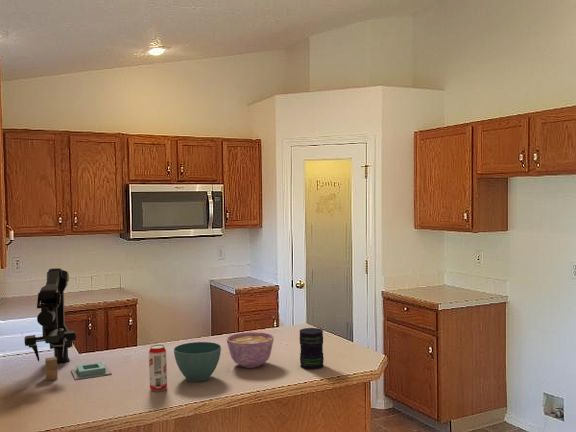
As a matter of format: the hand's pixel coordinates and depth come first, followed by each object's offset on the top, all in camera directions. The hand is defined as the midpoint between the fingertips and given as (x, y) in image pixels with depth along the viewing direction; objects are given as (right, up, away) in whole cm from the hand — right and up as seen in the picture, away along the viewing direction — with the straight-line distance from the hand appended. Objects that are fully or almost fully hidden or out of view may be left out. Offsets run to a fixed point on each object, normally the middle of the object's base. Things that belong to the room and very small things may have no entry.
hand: (51, 359), depth 230 cm
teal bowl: (+59, -7, -4) cm, 60 cm away
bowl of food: (+79, -6, +13) cm, 80 cm away
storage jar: (+104, -5, +9) cm, 105 cm away
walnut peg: (0, -8, 0) cm, 8 cm away
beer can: (+46, -7, -16) cm, 49 cm away
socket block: (+14, -7, +7) cm, 17 cm away
